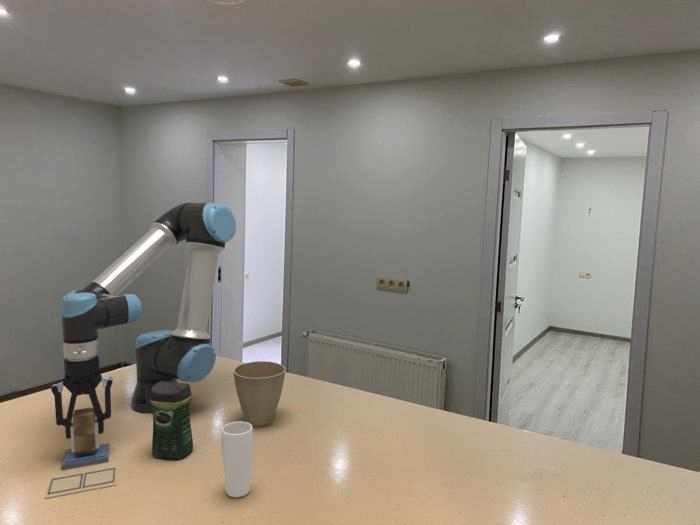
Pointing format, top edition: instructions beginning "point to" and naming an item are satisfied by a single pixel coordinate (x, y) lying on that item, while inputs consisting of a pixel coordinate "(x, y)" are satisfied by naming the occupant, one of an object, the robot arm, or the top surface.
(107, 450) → the ink pad
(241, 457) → the drinking glass
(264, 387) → the plant pot
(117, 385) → the top surface
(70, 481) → the sheet
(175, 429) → the coffee jar
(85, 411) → the tall wooden block
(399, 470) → the top surface
